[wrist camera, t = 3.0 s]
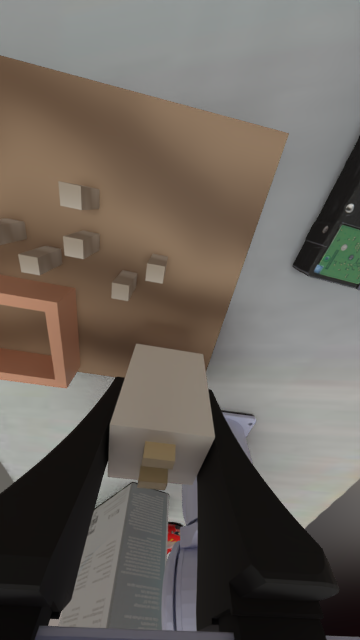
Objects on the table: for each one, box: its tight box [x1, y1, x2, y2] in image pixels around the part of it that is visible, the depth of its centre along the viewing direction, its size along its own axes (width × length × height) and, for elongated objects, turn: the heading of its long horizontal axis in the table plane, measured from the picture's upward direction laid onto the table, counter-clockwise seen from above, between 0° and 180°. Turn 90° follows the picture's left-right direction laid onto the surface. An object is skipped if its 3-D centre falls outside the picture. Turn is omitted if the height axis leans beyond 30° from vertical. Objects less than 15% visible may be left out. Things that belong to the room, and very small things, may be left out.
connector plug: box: [108, 344, 215, 490], centre depth 11 cm, size 4×4×6 cm
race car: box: [167, 524, 181, 554], centre depth 42 cm, size 13×5×4 cm, turn 133°
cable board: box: [0, 56, 289, 377], centre depth 14 cm, size 19×20×4 cm
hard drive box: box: [59, 483, 169, 630], centre depth 28 cm, size 16×8×20 cm, turn 143°
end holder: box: [0, 275, 80, 388], centre depth 15 cm, size 8×8×2 cm
